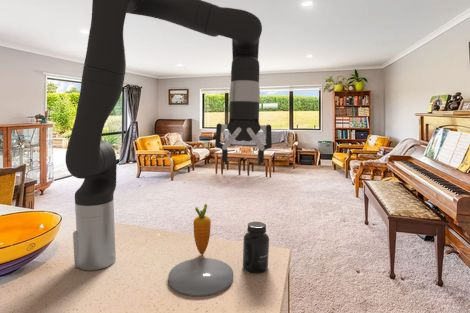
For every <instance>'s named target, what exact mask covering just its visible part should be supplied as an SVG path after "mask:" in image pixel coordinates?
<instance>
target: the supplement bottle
mask: <svg viewBox="0 0 470 313" xmlns="http://www.w3.org/2000/svg"><path fill="white" fill-rule="evenodd" d="M246 231H247V232H246V233H245V234H244V235H243V245H242V246H243V248H242V268H243V269H244V271H246V272H248V273H252V274H262V273H264V272H266V271H267V270H268V269H269V268H268V267H269V253H270V236H269V235H268V234H267V233H266V232H267V225H266V223H264V222H262V221H261V222H260V221H251V222H248V224H247V230H246Z"/></svg>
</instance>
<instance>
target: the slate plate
mask: <svg viewBox="0 0 470 313" xmlns="http://www.w3.org/2000/svg"><path fill="white" fill-rule="evenodd" d="M233 281H234V271H233V269H232V267H231V265H230V264H228V263H227V262H224V261H223V260H220V259H215V258H211V257H210V258H209V257H208V258H207V257H198V258H191V259H188V260H184V261H182V262H180V263H178V264H176V265H175V266H173V267H172V268H171V269H170V270H169V273H168V284H169V286H170V288H171V289H172V290H173V291H175V292H177V293H179V294H181V295H184V296H189V297H207V296H213V295H216V294H219V293H221V292H223V291H225V290H226V289H228V288H229V287H230V286H231V284H232V283H233Z"/></svg>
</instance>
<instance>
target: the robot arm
mask: <svg viewBox="0 0 470 313" xmlns="http://www.w3.org/2000/svg"><path fill="white" fill-rule="evenodd" d="M91 6H92V7H91V19H90V20H91V21H90V26H89V27H90V28H89V34H88V40H87V46H86V52H85V58H84V62H83V70H82V75H81V80H80V81H81V83H80V89H79V90H80V91H79V96H78V102H77V107H76V114H75V118H74V122H73V126H72V129H71V132H70V137H69V141H68V143H67V148H66V152H65V166H66V168H67V170H68V172H69V173H70V175H71V176H72V177H74V178H77V179H84V180H83V181H82V184H81V186H80V187H79V188H78V189H77V190H76V191H75V193H74V207H75V209H74V210H75V228H76V229H75V230H74V231H73V232H72V238H73V240H72V241H73V256H74V257H73V258H74V268H79V269H80V270H82V271H83V270H84V271H97V270H101V269H105V268H108V267H109V266H111V265H113V264H114V263H115V261H116V259H117V257H116V253H117V252H116V230H115V229H116V227H115V204H114V201H115V200H114V194H115V191H116V189H117V188H116V187H117V169H118V168H117V165H118V164H117V155H116V151H115V149H114V147H113V146H112V145H111V144H110V143H109V142H107V141H106V140H102V136H103V132H104V128H105V124H106V123H107V122H106V121H107V120H108V118H109V117H110V115H111V113H112V111H113V110H114V109H115V107H116V106H117V104H118V102H119V100H120V97H121V95H122V93H123V88H124V87H123V86H124V82H125V76H126V70H127V64H126V50H125V41H124V27H125V26H124V25H125V21H126V16H127V14H130V15H131V14H132V15H137V16H144V17H149V18H154V19H156V20H157V19H158V20H161V21H165V22H169V23H172V24H175V25H178V26H181V27H183V28H186V29H189V30H192V31H194V32H198V33H200V34H203V35H206V36H209V37H214V38H215V37H218V36H221V37H225V38H228V39H231V45H232V46H231V48H232V49H231V50H232V61H231V70H230V72H231V73H230V87H229V110H228V113H229V114H228V116H229V117H228V123H227V124H225V123H224V124H223V123H220V122H219V123H217V124H216V127H215V128H216V129H215V130H216V132H215V143H214V147H216V148H219V149H221V162H222V163H224V165H226V166H227V165H228V160H229V159H228V157H229V154H228V152H229V151H228V150H229V149H228V148H229V147H230V146H231V144H232V143H233V142H234V140H235V141H236V142H242V141H245V142H251V141H253V142H254V143H255V145H256V147H258V149H257V166H261V165H262V164H264V159H265V158H264V157H265V151H266V150H268V149H271V148H272V143H273V142H272V138H273V137H272V125H271V124H265V125H262V124H260V100H261V99H260V95H261V94H260V93H261V90H260V61H259V48H260V47H259V46H260V38H261V36H262V30H263V25H262V22H261V20H260V18H259V17H258V16H257V15H256V14H254V13H253V12H250V11H247V10H244V9H241V8H234V7H226V6H219V5H218V4H214V3H212V2H209V1H205V0H92V5H91ZM226 129H227V131H228V132H229V133H230V135H229V137H228V138H227V140H226V141H225V142H224V143H222V142H221V140H222V133H224V132H225V130H226ZM261 130H262V133H263V134H265V143H264V144H263V143H262V142H261V140H260V139H259V137H258V136H257V135H258V133H260V131H261Z"/></svg>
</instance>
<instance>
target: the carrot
mask: <svg viewBox="0 0 470 313" xmlns="http://www.w3.org/2000/svg"><path fill="white" fill-rule="evenodd" d="M207 209H208V204H207V203H205V204H204V205H203V209H202V210H199V208H198V207H197V206H196V207H195V209H194V210H195V212H196V213H197V215H198V216H196V217H195V218H194V219H193V236H194V237H193V238H194V242H195V246H196V249H197V250H198V252H199V254H200V255H202V256H203V255H204V254H205V252H206V251H207V249H208V245H209V243H210V242H209V241H210V237H211V226H212V225H211V221H212V220H211V218H210V217H208V216H206V213H207Z"/></svg>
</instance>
